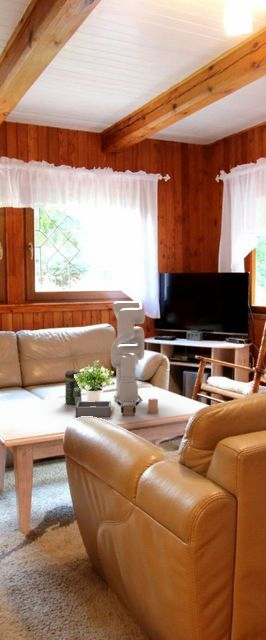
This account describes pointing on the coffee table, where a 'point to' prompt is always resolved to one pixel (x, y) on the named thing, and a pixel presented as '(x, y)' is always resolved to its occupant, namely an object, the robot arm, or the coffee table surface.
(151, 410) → the terracotta cylinder
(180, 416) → the coffee table surface
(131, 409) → the walnut cube
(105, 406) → the tote
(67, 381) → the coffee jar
